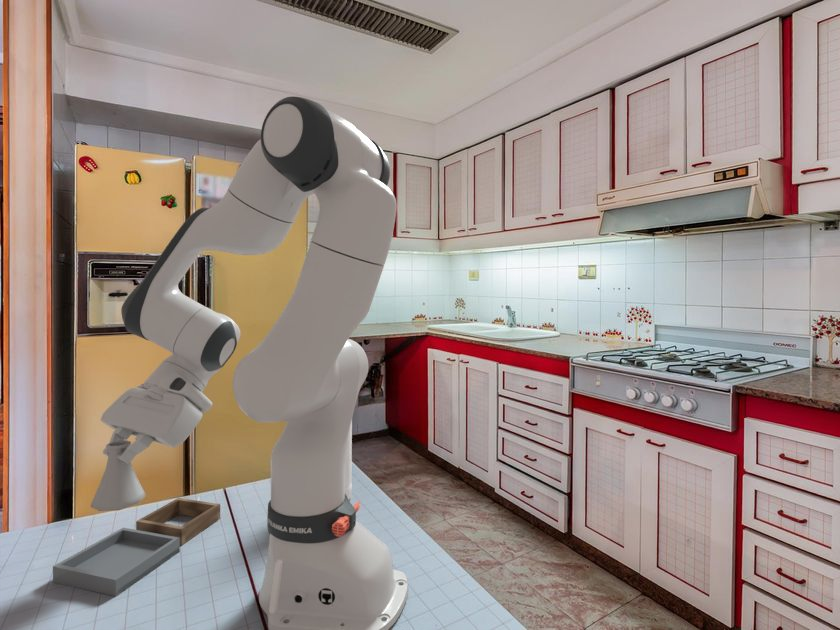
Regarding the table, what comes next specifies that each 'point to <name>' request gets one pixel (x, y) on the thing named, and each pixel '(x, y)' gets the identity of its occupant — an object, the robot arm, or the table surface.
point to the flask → (117, 482)
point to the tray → (116, 561)
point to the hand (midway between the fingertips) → (114, 458)
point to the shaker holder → (198, 509)
